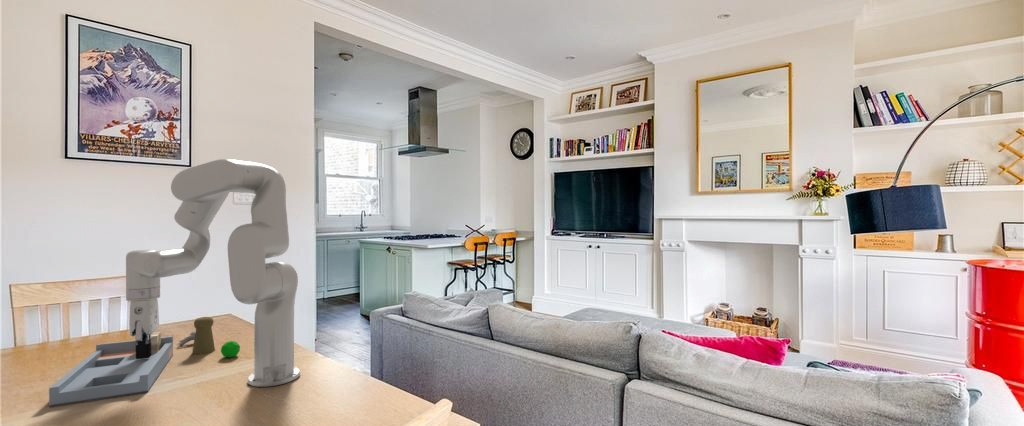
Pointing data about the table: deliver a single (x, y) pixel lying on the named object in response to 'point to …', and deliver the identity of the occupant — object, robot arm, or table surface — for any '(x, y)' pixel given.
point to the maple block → (155, 342)
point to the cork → (203, 336)
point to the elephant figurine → (187, 339)
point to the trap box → (111, 373)
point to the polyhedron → (230, 349)
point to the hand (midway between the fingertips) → (143, 357)
